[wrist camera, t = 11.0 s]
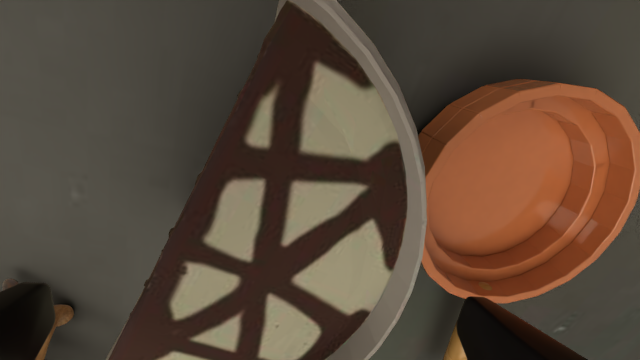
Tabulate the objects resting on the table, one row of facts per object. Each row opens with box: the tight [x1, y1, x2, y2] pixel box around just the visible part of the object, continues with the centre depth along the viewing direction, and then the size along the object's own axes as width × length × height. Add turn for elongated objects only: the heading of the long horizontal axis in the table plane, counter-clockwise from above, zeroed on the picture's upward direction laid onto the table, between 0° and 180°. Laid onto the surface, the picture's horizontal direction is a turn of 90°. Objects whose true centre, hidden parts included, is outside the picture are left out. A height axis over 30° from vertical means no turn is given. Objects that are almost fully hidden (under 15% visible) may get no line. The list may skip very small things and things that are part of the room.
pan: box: [418, 79, 640, 303], centre depth 17 cm, size 11×11×3 cm
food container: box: [105, 0, 427, 360], centre depth 12 cm, size 12×6×10 cm, turn 149°
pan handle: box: [443, 282, 492, 360], centre depth 19 cm, size 1×9×1 cm, turn 172°
